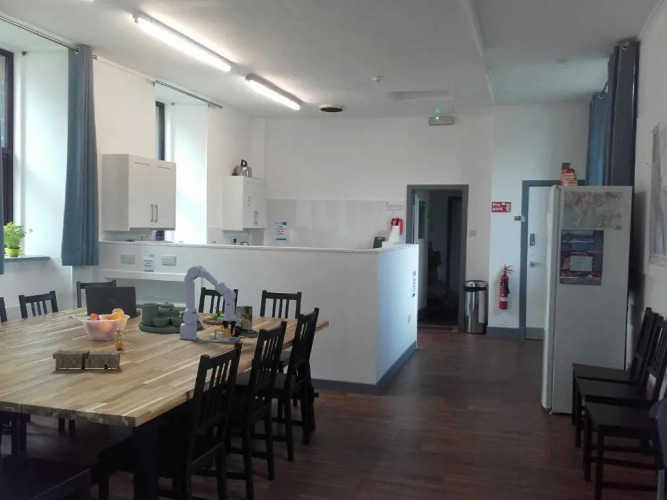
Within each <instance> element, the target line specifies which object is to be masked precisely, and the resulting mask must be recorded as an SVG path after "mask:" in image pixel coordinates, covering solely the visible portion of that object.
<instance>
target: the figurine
mask: <svg viewBox="0 0 667 500" xmlns="http://www.w3.org/2000/svg"><path fill="white" fill-rule="evenodd" d="M114 333H116V334H115V337H116V343H115V348H116V349H117V350H121V349H123V347H124V343H123V342H122V334H121V333H123V334H124V335H125V336H126V337H127V334H126V332H125V331H123V330H121V329H120V327H118V328H117V329H116V330H113V331H112V332H111V334H110V337H112V335H113V334H114Z"/></svg>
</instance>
